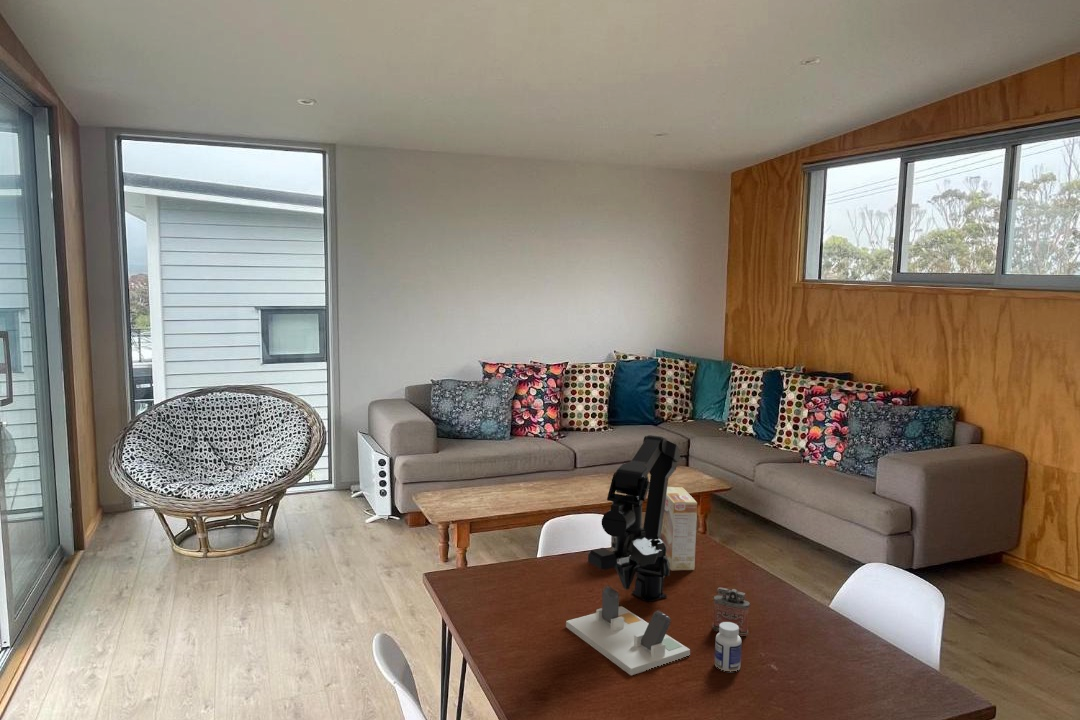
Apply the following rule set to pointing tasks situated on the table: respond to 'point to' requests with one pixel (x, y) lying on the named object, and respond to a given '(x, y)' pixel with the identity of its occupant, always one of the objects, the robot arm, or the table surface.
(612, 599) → the breaker lever
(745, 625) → the lighter
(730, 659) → the pill bottle
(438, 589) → the table surface
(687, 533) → the coffeecake box
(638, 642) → the breaker panel
